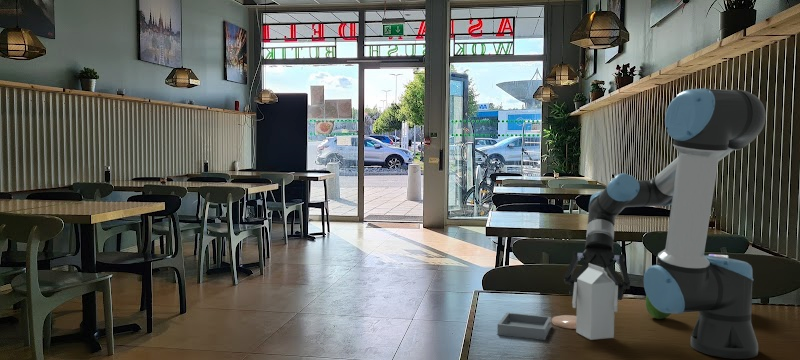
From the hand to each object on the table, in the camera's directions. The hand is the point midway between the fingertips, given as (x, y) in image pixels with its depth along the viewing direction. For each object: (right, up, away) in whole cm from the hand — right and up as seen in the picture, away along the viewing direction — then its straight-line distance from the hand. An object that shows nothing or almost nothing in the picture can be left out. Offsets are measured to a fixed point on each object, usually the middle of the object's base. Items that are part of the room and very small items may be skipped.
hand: (594, 307), depth 167 cm
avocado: (+25, -7, +20) cm, 33 cm away
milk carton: (+1, -8, +3) cm, 9 cm away
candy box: (+47, -7, +29) cm, 55 cm away
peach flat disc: (-2, -8, +15) cm, 17 cm away
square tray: (-17, -8, +8) cm, 20 cm away
